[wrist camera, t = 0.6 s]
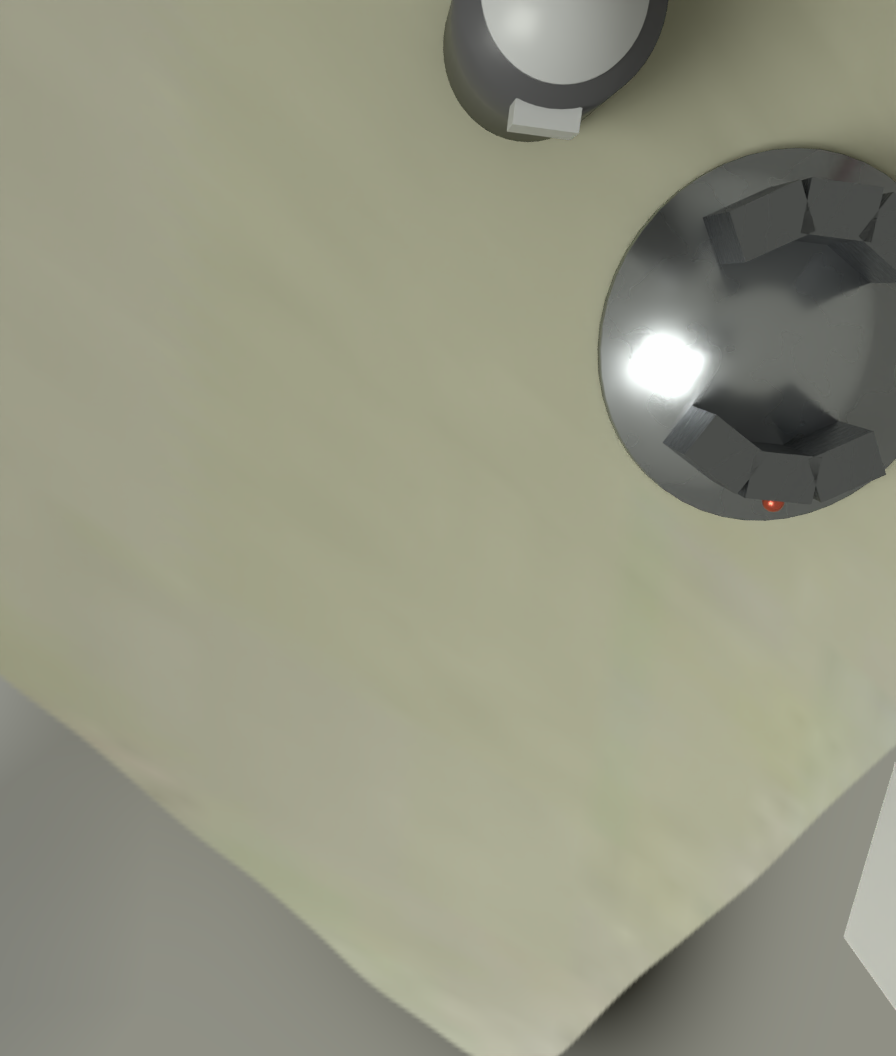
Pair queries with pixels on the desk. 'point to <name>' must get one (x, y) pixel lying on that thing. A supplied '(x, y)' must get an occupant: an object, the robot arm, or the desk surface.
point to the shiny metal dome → (759, 336)
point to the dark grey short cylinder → (545, 59)
